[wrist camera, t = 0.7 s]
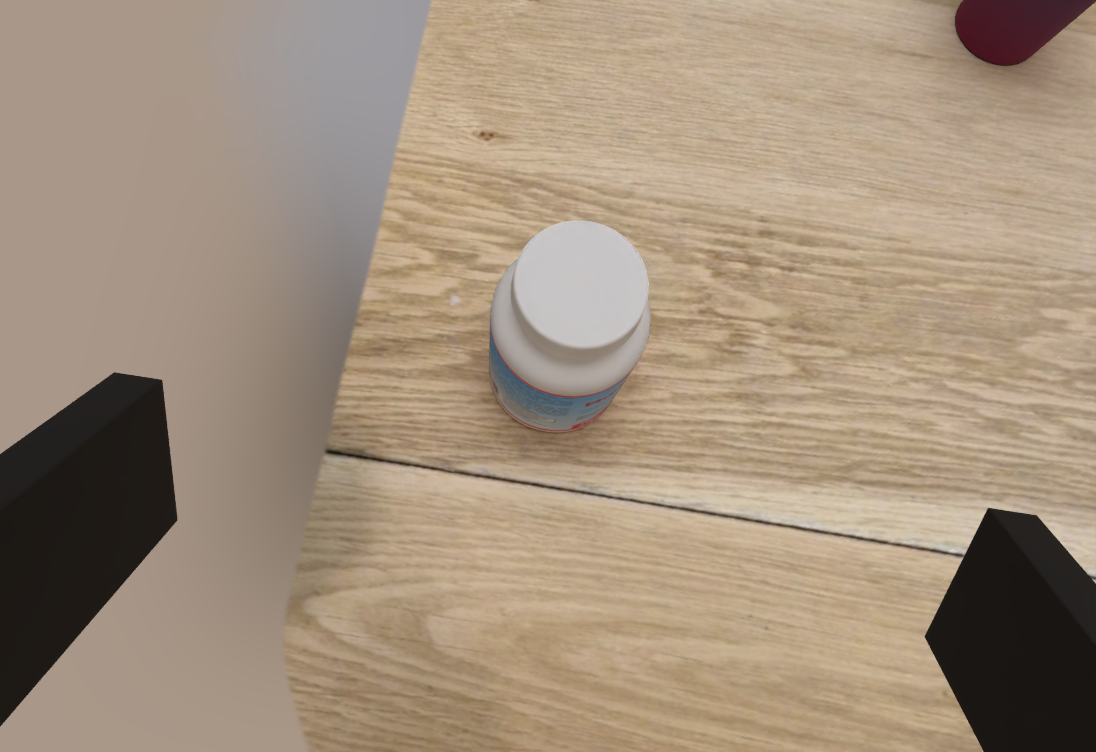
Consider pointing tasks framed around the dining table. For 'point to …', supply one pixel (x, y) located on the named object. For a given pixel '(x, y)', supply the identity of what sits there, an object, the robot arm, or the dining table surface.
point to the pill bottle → (568, 325)
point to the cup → (1013, 26)
